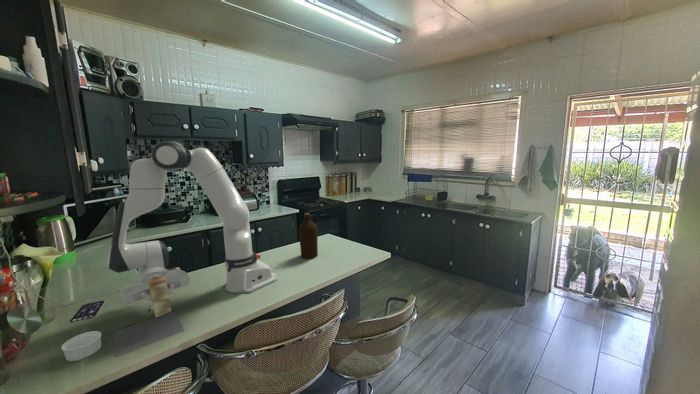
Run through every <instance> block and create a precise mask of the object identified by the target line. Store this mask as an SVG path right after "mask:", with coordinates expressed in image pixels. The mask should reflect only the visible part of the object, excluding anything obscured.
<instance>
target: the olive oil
mask: <svg viewBox="0 0 700 394" xmlns="http://www.w3.org/2000/svg"><path fill="white" fill-rule="evenodd" d="M303 215H304V216H303V218H304V219H303V221H302V222H301V223H300V224H299V227H298V237H299V238H298V239H299V247H300V255H301V256H300V257H301V258H303V259H307V260H309V259H311V260H312V259H314V258H317V257H318V255H319V254H318V253H319V251H318V227H317V224H316V223H315V222H314V221H312V219H311V213H310V212H304V214H303Z"/></svg>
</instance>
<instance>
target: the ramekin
mask: <svg viewBox="0 0 700 394" xmlns="http://www.w3.org/2000/svg"><path fill="white" fill-rule="evenodd" d="M101 347H102V332H101V331H100V330H99V331H97V330H92V331H87V332H83V333H81V334H78V335H75V336H73V337H71V338H69V339H67V340H66V341H64V343H62V345H61V350H62V352H63V355H64V358H65V359H66V361H67V362H78V361H81V360H84V359H85V358H87V357H89V356H91V355H93V354H95V353H96V352H98V351H99V350H100V349H101Z"/></svg>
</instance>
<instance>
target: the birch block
mask: <svg viewBox="0 0 700 394" xmlns="http://www.w3.org/2000/svg"><path fill="white" fill-rule="evenodd" d="M148 282H149V288H150V293H151V295H152V300H151V303H152V307H153V313H154V316H155V318H158V317H161V316H164V315H167V314H169V313H172V307H171V302H170V301H171V300H170V296H169V295H170V294H168V288H167V283H166V278H165V276H164V275H162V276H158V277H155V278H151V279H148Z"/></svg>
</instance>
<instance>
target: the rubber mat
mask: <svg viewBox="0 0 700 394" xmlns="http://www.w3.org/2000/svg"><path fill="white" fill-rule="evenodd" d="M182 332H185V329H184V326H183V325H182V322H181V320H180V318H179V317H178V315H177V312H176V311H173V312H172V311H171V312H169V313H166V314H164V315H161V316H158V317H155V318H152V319H149V320H146V321H143V322H141V323H137V324H134V325H132V326H128V327H126V328H123V329H120V330H117V331H114V332H113V344H114V345H113V346H114V347H113V348H114V358H118V357H121V356H123V355H126V354H128V353H131V352H134V351H137V350H139V349H141V348H143V347H147V346H150V345H151V344H153V343H154V344H155V343H157V342H159V341H162V340H165V339H167V338H170V337H171V336H174V335H177V334H180V333H182Z"/></svg>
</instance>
